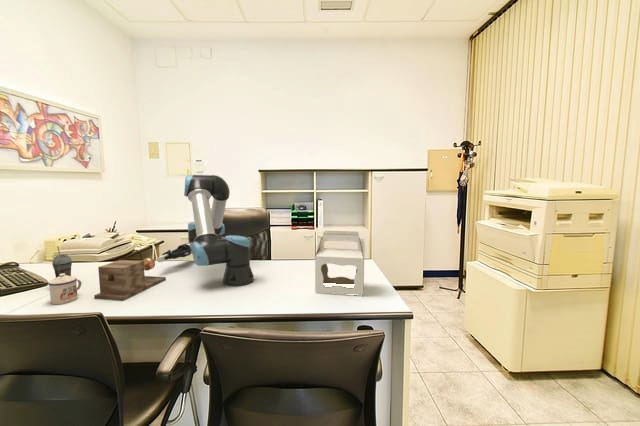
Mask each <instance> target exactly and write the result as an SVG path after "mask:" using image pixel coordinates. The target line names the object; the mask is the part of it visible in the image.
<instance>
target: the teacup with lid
mask: <svg viewBox="0 0 640 426" xmlns="http://www.w3.org/2000/svg"><path fill="white" fill-rule="evenodd" d="M77 282H78V284H77ZM47 283H48V286H49V296H50V297H49V298H50V303H51V304H52V305H64V304H68V303H71V302H75V301H76V300H77V299H78V298H79V297H78V291H79V290H80V289H81V287H82V284H83V283H82V281H81V280H80V279H77V277H76V276H73V275H71V276H68V275H65V273H62V274H59V277H56V276H55V278H54V279H51V280H49V281H48V282H47Z"/></svg>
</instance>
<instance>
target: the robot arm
mask: <svg viewBox="0 0 640 426" xmlns="http://www.w3.org/2000/svg"><path fill="white" fill-rule="evenodd" d="M183 193H184V197H186V198H187V199H188V200H189V202H191V206H192V212H193V220H194V221H190V222H189V223H188V224H187V233H188V234H187V235H188V236H187V237H188V242H185V243H183V244H182V243H181V244H180V245H178V246H177V248H176V249H173V250H170V249H168V250H167V251H164V253H162V255H160V256H158V257H157V263H163V262H165V261H168V260H171V259H173V260H175V259H178V258H185V257H188V256H191V255H192V258H193V262H194V263H195V265H196V266H198V267H209V266H214V265H219V264H225V270H224V273H223V277H222V284H223V285H225V286H229V287H239V286H240V287H241V286H246V285H248V284H251V283H253V282H254V280H255V277H254V273H253V271H252V267H251V265H250V264H251V262H250V261H251V259H250V258H251V257H250V256H251V255H250V250H251V249H250V247H251V246H250V240H249V238H248V237H247V236H244V235H243V236H242V235H226V236H225V237H224V239H220V236H219V235H224V234H225V233H226V232H225V230H226V227H225V224H224V223H223V221H224V218H225V217H224V216H225V212H226V211H225V210H226V204H227V201H228V200H229V198H230V194H231V192H230V188H229V184H228V183H227V182H226V180H224V179H223V178H222V177H221V176H219V175H215V174H211V175H210V174H209V175H208V174H188V175H186V176H185V180H184V191H183ZM211 197H212V198H213V200H212V206H211V205H210V204H211V203H210V199H211Z"/></svg>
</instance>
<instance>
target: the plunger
mask: <svg viewBox="0 0 640 426" xmlns="http://www.w3.org/2000/svg"><path fill="white" fill-rule="evenodd" d="M141 261H144V271H150V270H152V269H154V268H155V266H156V262H155V260H154V258H152V257H146V258H143V259H142V260H141ZM112 278H113V279H114V275H112Z"/></svg>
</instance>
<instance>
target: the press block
mask: <svg viewBox="0 0 640 426" xmlns="http://www.w3.org/2000/svg"><path fill="white" fill-rule="evenodd" d="M97 271H98V279H99V293H96V294H94V297H93V298H94V300H105V301H106V300H108V301H119V302H123V301H124V302H125V301H126V300H128V299H130V298H132V297H134V296H136V295H138V294H140V293H142V292H144V291H146V290H149V289H150V288H152V287H154V286H157V285H159V284H161V283H162V282H165V281H166V280H167V279H166V278H167V277H164V276H154V275H145V270H144V261H142V260H130V259H128V260H127V259H119V260H115V261H113V262H110V263H106V264H103V265H101V266H98V270H97ZM112 275H114V279H113V278H112Z"/></svg>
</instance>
